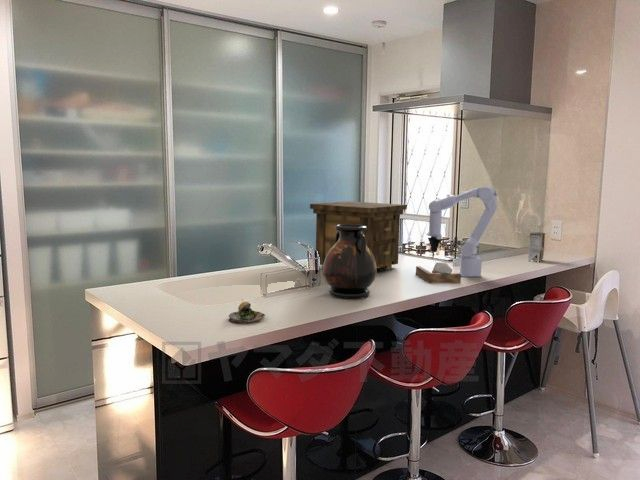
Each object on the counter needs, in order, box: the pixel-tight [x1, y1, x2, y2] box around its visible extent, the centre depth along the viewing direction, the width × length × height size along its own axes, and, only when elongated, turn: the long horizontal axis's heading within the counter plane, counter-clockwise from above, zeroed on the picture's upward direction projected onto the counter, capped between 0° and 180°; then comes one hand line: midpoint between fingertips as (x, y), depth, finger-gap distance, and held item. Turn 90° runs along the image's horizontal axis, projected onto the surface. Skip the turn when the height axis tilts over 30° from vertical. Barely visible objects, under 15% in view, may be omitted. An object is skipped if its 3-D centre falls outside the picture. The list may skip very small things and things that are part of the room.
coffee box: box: [528, 231, 546, 262], centre depth 302 cm, size 9×6×16 cm
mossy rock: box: [228, 299, 266, 325], centre depth 174 cm, size 12×12×8 cm
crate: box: [309, 200, 407, 270], centre depth 267 cm, size 35×35×33 cm
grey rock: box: [431, 261, 453, 273], centre depth 246 cm, size 8×9×10 cm
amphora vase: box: [322, 224, 378, 300], centre depth 210 cm, size 22×22×28 cm
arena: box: [415, 265, 462, 284], centre depth 248 cm, size 15×20×5 cm
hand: (433, 251), depth 264 cm, fingers closed
